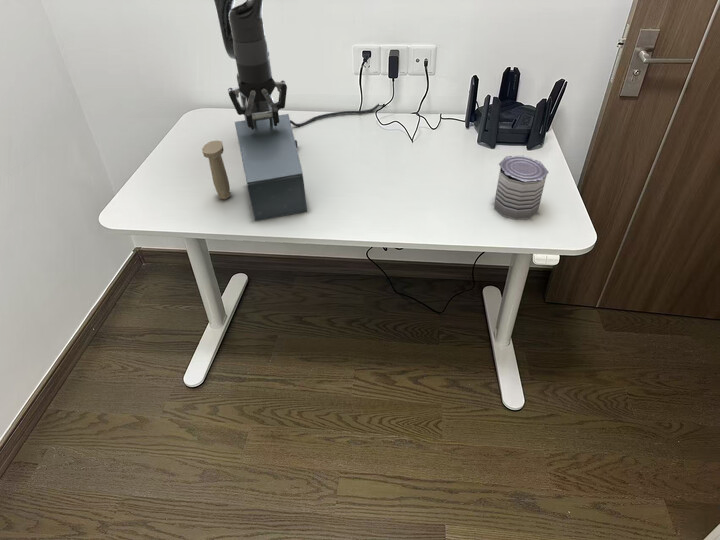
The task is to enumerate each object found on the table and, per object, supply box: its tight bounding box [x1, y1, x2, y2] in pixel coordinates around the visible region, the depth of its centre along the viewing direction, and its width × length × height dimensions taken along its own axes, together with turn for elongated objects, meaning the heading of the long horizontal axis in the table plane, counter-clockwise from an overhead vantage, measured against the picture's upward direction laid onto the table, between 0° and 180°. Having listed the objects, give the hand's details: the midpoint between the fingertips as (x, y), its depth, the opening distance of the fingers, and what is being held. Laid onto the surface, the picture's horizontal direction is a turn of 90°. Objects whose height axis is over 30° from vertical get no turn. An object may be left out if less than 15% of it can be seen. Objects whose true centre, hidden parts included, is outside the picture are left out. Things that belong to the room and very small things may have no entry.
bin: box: [246, 175, 308, 222], centre depth 137 cm, size 17×14×11 cm
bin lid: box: [234, 111, 304, 185], centre depth 128 cm, size 18×14×5 cm
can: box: [493, 155, 550, 221], centre depth 130 cm, size 11×11×12 cm
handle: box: [201, 140, 231, 200], centre depth 137 cm, size 5×6×15 cm
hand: (263, 126), depth 129 cm, fingers closed on bin lid, 5 cm apart
